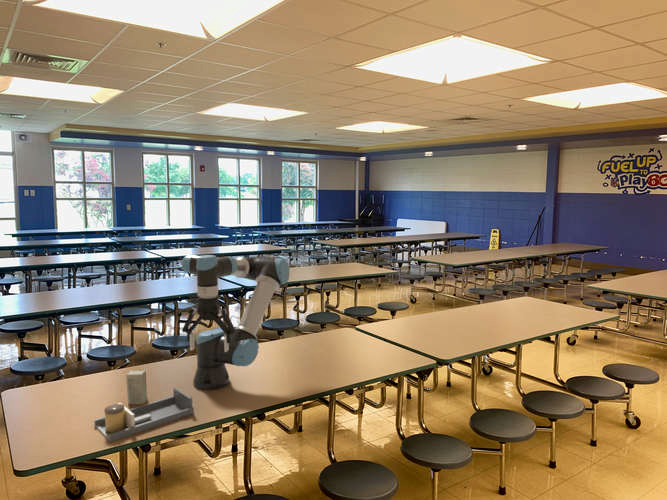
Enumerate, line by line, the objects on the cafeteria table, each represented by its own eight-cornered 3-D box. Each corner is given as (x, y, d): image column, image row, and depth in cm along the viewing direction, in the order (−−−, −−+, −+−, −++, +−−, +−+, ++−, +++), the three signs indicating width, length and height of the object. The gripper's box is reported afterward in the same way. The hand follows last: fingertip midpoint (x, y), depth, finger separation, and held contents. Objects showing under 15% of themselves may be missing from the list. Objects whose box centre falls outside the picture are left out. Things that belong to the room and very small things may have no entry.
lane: (94, 426, 166) (93, 410, 165) (175, 401, 187) (174, 386, 186) (110, 442, 155) (109, 425, 155) (193, 414, 176) (193, 398, 176)
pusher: (118, 419, 170) (117, 403, 169) (142, 411, 176) (142, 396, 176) (132, 431, 161) (131, 415, 161) (157, 423, 168) (157, 407, 167)
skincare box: (147, 399, 188) (146, 370, 187) (143, 404, 184) (142, 374, 182) (131, 399, 188) (130, 370, 186) (127, 404, 184) (125, 374, 182)
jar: (102, 429, 164) (101, 407, 163) (120, 423, 168) (120, 402, 167) (109, 435, 159) (108, 413, 158) (127, 429, 163) (127, 408, 163)
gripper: (171, 297, 176) (174, 352, 179) (236, 299, 173) (238, 354, 176) (180, 293, 183) (182, 345, 186) (242, 294, 181) (243, 348, 184)
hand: (209, 350), depth 181 cm, fingers open, 13 cm apart
